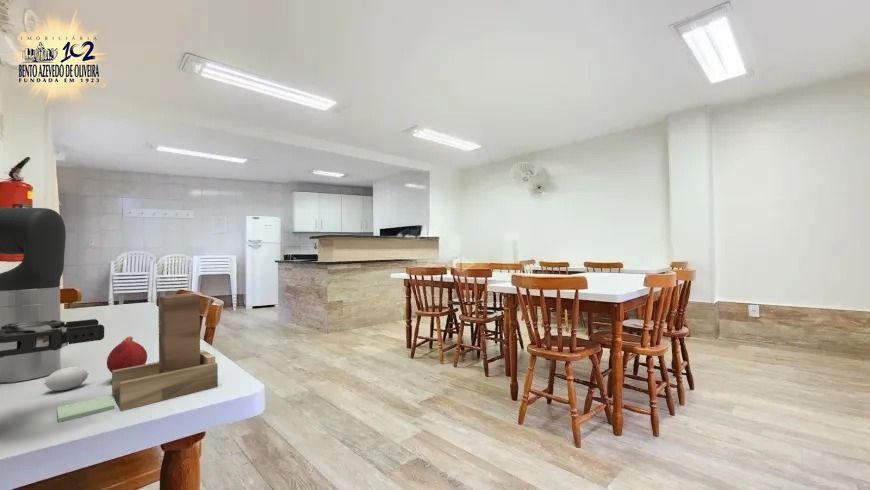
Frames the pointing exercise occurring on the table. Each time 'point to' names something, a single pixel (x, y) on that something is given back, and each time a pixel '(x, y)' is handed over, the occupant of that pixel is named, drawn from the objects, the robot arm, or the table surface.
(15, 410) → the table surface
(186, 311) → the post
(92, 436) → the table surface
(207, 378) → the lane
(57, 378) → the egg
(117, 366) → the onion
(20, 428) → the table surface
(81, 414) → the pad
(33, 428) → the table surface
